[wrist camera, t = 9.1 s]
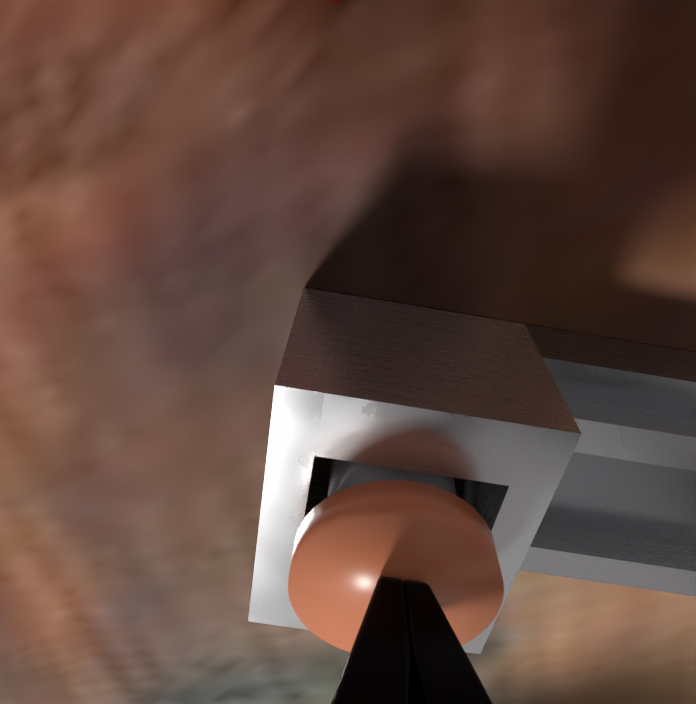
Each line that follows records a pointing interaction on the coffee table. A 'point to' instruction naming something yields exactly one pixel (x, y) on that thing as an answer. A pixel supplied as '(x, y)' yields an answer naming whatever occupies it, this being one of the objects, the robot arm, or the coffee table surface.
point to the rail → (488, 439)
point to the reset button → (392, 551)
